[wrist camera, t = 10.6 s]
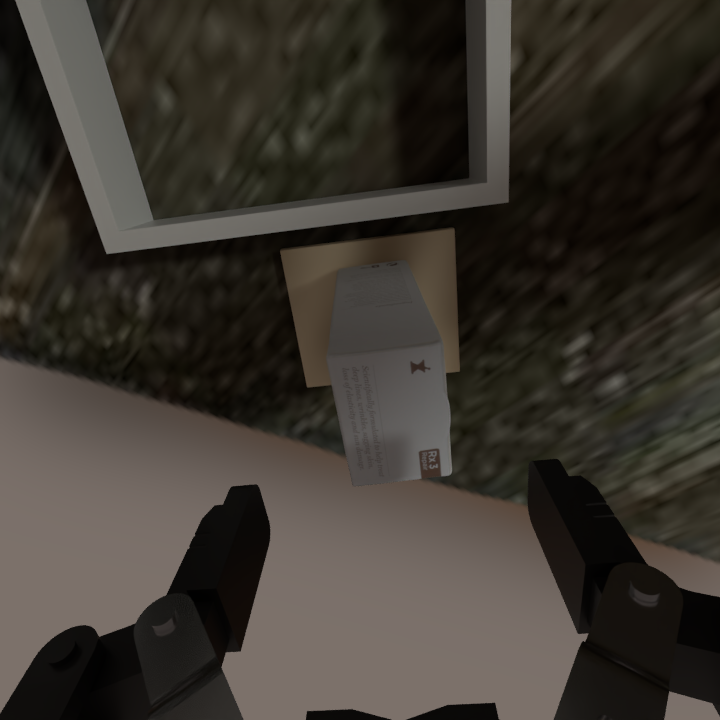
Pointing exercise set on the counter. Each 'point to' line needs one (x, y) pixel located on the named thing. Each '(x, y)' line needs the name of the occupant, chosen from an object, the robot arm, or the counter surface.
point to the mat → (322, 261)
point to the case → (139, 231)
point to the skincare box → (388, 376)
